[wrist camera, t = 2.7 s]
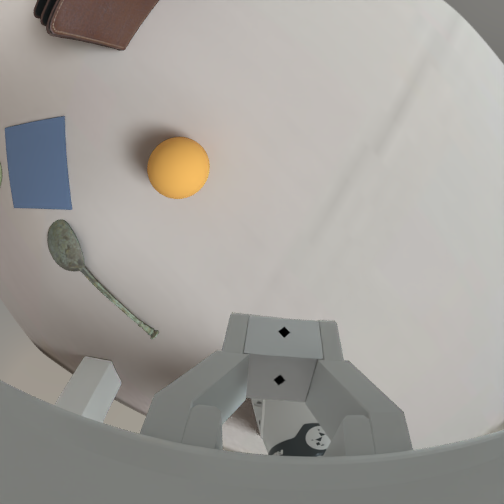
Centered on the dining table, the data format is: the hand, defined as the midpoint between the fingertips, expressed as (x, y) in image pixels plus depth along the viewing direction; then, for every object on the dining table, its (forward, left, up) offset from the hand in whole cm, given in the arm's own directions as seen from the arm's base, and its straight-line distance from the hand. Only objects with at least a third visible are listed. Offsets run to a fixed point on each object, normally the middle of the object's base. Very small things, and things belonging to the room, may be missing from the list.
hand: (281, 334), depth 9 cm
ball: (0, +10, -22) cm, 24 cm away
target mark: (0, +32, -25) cm, 40 cm away
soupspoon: (-17, +23, -25) cm, 38 cm away
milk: (-36, +28, -25) cm, 52 cm away
